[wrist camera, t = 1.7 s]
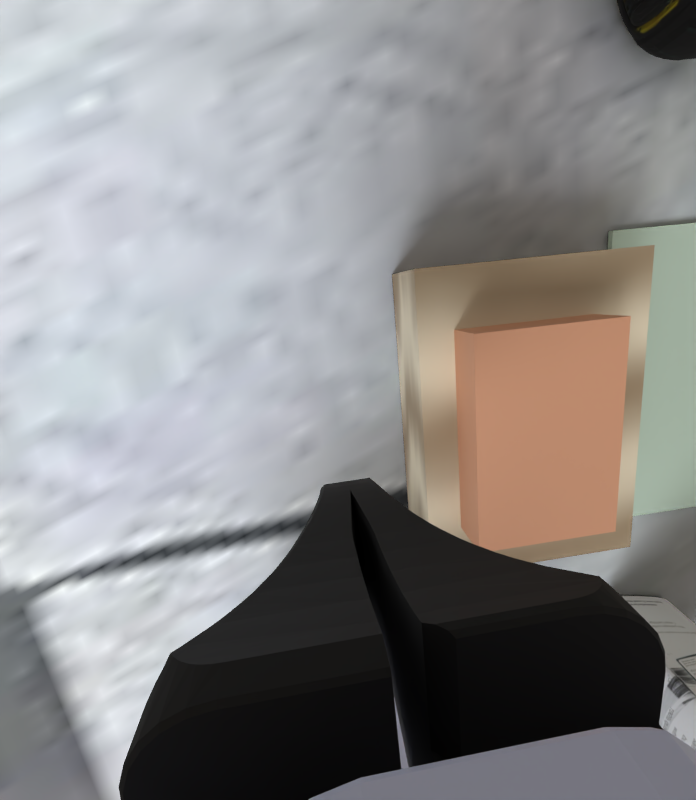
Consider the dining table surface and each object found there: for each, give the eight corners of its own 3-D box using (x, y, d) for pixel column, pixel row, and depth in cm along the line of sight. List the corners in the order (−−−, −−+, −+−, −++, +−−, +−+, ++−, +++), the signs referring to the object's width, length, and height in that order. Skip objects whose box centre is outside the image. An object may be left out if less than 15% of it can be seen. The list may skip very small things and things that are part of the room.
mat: (746, 495, 25) (751, 497, 25) (592, 519, 24) (596, 522, 24) (790, 214, 21) (797, 212, 21) (608, 231, 20) (613, 230, 20)
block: (584, 508, 19) (615, 531, 18) (461, 527, 19) (479, 553, 17) (593, 314, 17) (630, 316, 15) (453, 329, 17) (473, 333, 15)
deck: (577, 506, 24) (630, 546, 20) (410, 532, 23) (431, 578, 19) (588, 254, 21) (654, 244, 17) (392, 274, 20) (414, 268, 16)
